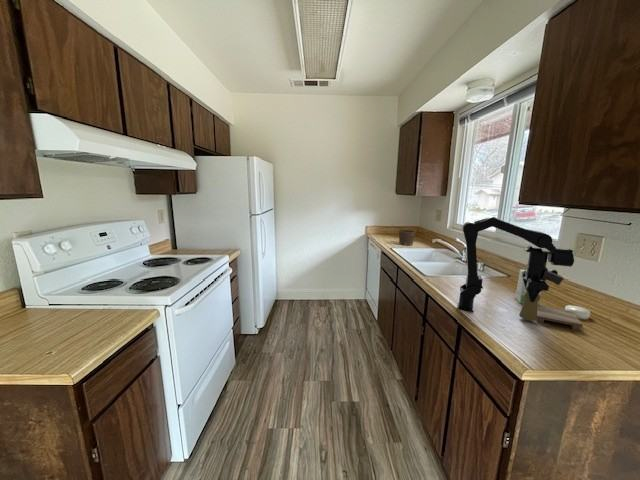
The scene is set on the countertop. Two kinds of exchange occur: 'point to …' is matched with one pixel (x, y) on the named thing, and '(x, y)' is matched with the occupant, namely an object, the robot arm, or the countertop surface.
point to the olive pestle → (529, 308)
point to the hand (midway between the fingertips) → (531, 299)
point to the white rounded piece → (578, 311)
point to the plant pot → (406, 237)
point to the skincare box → (521, 289)
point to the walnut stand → (558, 316)
